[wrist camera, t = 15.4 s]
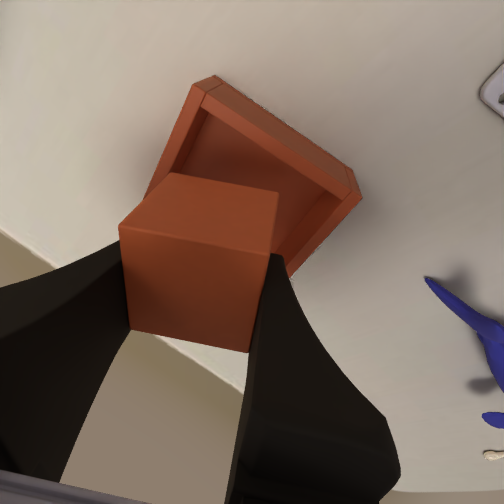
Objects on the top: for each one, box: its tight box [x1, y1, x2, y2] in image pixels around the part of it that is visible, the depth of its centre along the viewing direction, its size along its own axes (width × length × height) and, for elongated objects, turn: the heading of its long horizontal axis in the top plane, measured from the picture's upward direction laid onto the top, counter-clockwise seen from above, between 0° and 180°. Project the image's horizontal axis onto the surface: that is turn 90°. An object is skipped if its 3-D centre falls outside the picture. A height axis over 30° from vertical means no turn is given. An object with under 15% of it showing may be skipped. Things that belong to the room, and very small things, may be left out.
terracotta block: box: [118, 172, 279, 353], centre depth 11 cm, size 4×4×4 cm
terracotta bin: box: [142, 75, 362, 278], centre depth 16 cm, size 8×8×4 cm
